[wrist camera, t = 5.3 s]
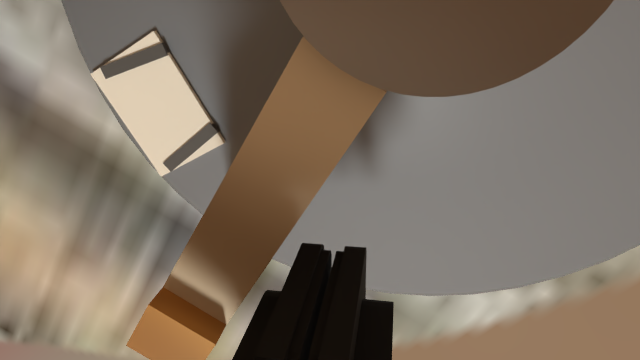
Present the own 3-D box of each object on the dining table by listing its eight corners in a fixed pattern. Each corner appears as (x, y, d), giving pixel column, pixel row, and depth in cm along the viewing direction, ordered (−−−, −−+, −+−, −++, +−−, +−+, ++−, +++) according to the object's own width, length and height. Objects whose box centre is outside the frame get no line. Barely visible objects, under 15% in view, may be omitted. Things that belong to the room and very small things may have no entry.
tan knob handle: (399, -221, 10) (399, -523, 4) (576, -94, 10) (799, -210, 4) (187, 187, 15) (57, 305, 9) (309, 263, 15) (255, 421, 10)
